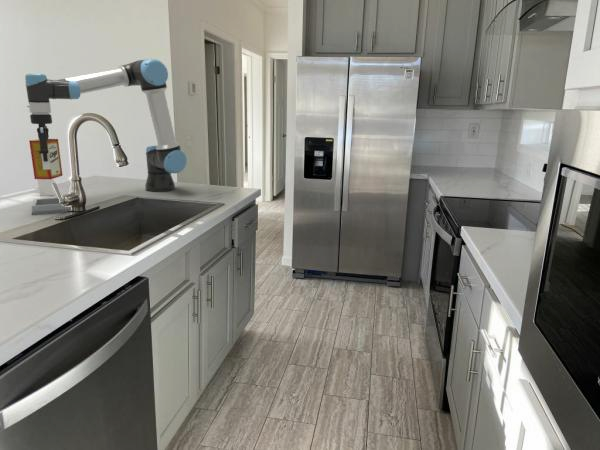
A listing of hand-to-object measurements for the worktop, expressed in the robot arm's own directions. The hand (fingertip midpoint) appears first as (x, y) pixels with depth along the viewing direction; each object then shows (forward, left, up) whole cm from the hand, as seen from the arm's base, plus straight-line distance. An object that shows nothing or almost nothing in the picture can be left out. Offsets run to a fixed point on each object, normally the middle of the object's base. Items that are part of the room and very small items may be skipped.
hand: (47, 167), depth 187 cm
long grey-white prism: (+3, -35, -18) cm, 40 cm away
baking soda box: (0, 0, -4) cm, 4 cm away
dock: (0, 0, -18) cm, 18 cm away
